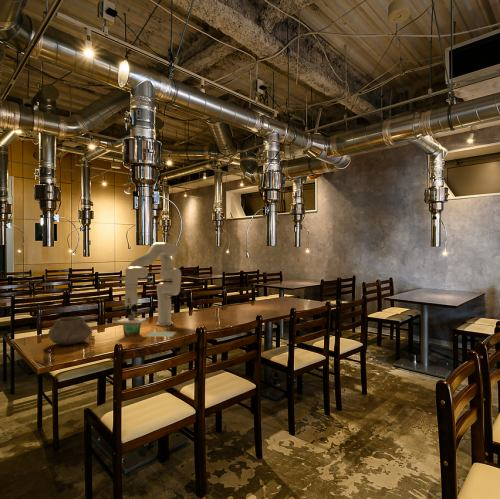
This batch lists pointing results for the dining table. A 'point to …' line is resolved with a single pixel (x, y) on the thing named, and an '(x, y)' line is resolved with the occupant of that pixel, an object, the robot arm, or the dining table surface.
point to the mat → (161, 334)
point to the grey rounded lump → (69, 331)
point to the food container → (131, 329)
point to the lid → (131, 319)
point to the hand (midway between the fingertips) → (131, 313)
